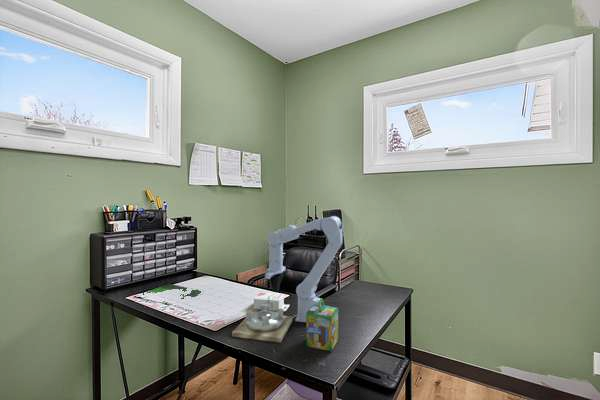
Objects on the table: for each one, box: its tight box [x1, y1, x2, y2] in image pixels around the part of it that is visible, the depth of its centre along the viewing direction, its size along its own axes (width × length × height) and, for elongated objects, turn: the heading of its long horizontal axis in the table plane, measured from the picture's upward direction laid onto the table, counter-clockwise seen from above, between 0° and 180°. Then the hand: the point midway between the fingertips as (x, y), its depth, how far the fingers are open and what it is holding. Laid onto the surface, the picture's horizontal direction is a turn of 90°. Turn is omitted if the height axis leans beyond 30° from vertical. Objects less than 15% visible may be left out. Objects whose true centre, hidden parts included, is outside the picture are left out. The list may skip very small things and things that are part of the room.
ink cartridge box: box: [253, 292, 290, 312], centre depth 128 cm, size 9×5×15 cm
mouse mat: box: [142, 283, 201, 305], centre depth 143 cm, size 27×22×1 cm
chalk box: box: [305, 297, 339, 353], centre depth 97 cm, size 9×9×15 cm
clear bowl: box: [245, 304, 284, 332], centre depth 108 cm, size 14×14×5 cm
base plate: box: [231, 311, 294, 343], centre depth 108 cm, size 18×18×2 cm
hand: (275, 291), depth 121 cm, fingers closed
